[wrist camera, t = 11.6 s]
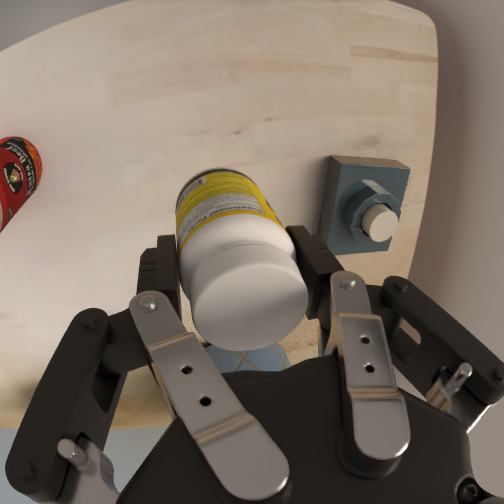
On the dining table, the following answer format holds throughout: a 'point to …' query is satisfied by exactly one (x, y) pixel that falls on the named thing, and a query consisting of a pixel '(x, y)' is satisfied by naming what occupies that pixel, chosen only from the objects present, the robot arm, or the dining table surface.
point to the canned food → (17, 175)
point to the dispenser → (358, 201)
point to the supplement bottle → (236, 262)
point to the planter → (249, 359)
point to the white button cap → (379, 222)
